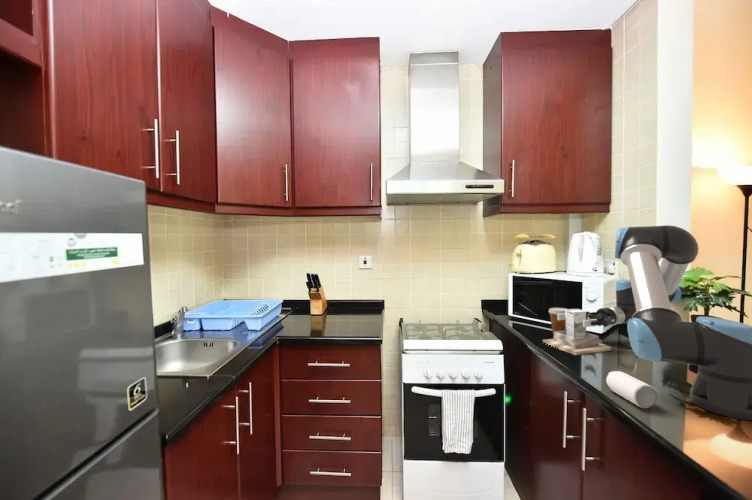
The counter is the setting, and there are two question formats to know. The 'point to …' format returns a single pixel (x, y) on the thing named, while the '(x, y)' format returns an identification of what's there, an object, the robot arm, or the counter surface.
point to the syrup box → (575, 323)
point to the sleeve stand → (577, 343)
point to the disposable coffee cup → (557, 324)
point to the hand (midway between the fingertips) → (570, 320)
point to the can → (632, 389)
